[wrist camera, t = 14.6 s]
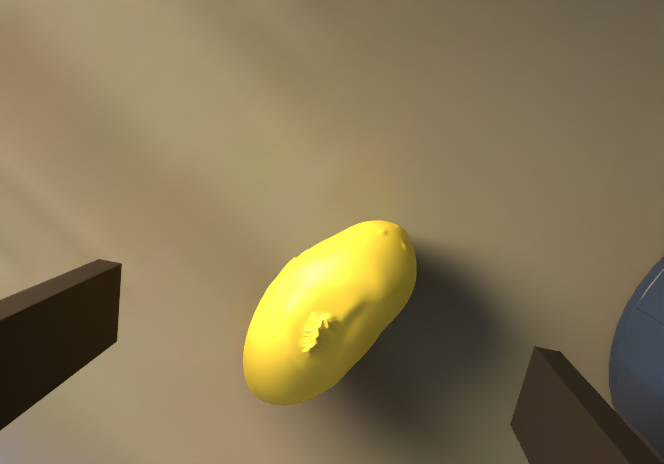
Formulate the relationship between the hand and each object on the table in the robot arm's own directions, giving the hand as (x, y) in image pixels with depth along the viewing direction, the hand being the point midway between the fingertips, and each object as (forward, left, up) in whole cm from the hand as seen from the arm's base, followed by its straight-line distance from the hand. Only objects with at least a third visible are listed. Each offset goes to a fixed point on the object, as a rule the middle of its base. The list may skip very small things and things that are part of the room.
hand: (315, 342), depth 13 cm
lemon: (0, 0, -4) cm, 4 cm away
